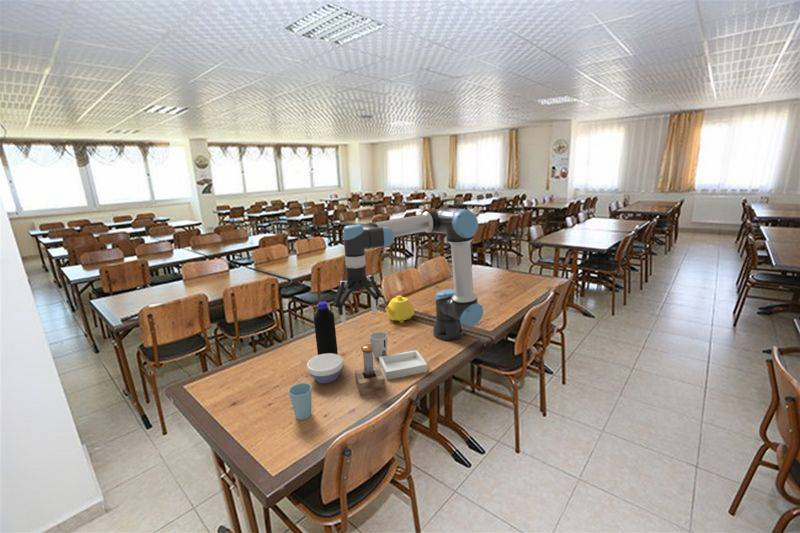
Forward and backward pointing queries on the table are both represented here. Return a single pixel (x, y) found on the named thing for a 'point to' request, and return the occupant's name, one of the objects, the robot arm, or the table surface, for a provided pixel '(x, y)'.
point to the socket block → (370, 381)
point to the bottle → (325, 330)
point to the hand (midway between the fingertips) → (359, 318)
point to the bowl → (325, 367)
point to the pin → (368, 360)
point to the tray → (402, 364)
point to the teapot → (399, 309)
